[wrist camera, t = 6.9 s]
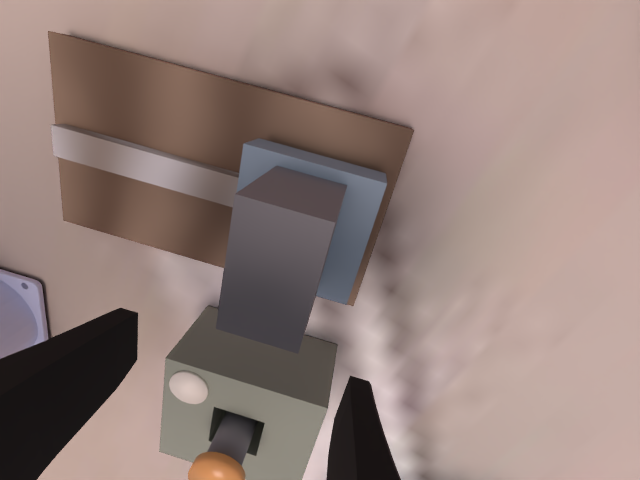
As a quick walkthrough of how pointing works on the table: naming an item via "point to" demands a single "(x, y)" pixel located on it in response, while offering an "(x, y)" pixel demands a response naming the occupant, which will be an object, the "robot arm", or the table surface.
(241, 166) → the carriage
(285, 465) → the cabinet
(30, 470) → the robot arm
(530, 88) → the table surface
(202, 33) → the table surface
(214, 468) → the button
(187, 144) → the rail
